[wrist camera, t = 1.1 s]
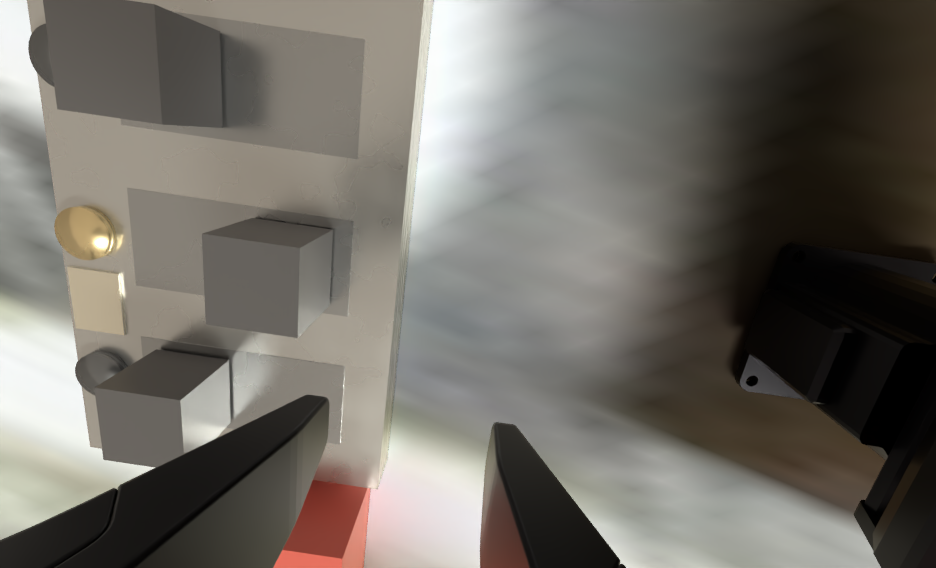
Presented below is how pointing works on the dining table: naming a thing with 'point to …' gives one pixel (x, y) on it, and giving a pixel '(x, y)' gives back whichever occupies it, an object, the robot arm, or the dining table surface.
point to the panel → (255, 209)
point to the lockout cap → (329, 528)
